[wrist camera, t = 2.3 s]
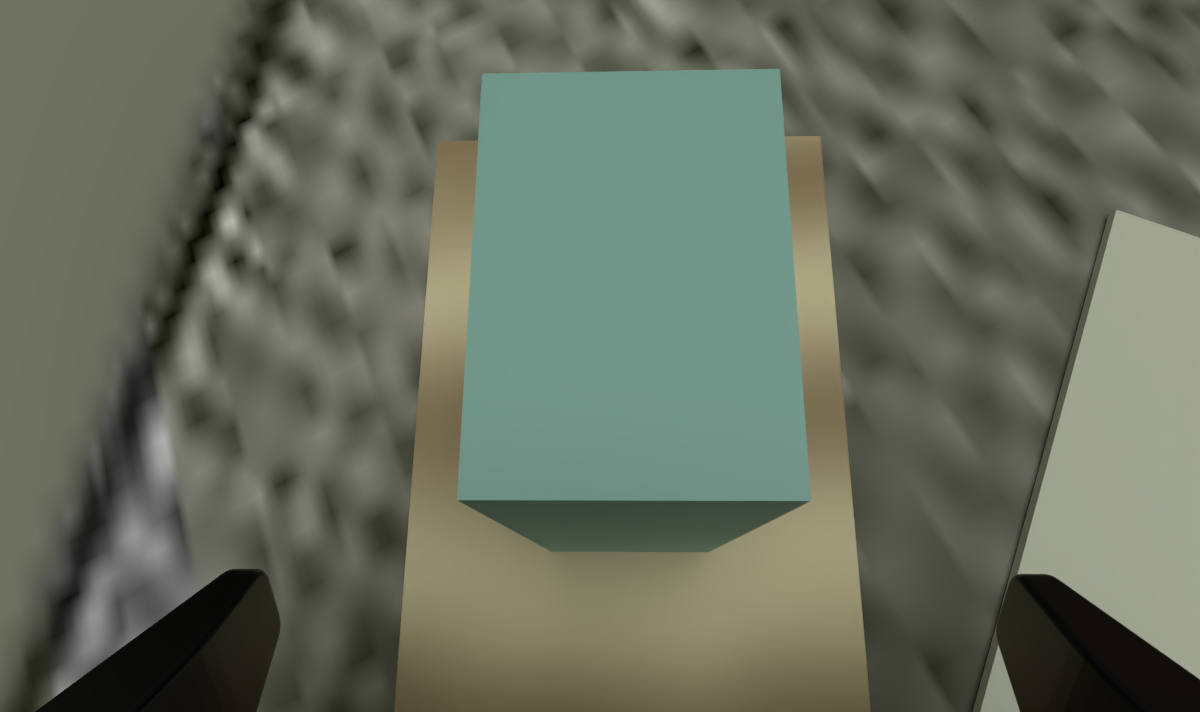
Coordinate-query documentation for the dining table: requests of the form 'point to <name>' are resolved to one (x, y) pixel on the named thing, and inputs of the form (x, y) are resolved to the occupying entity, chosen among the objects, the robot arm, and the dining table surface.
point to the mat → (1124, 452)
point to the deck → (629, 579)
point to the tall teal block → (632, 312)
